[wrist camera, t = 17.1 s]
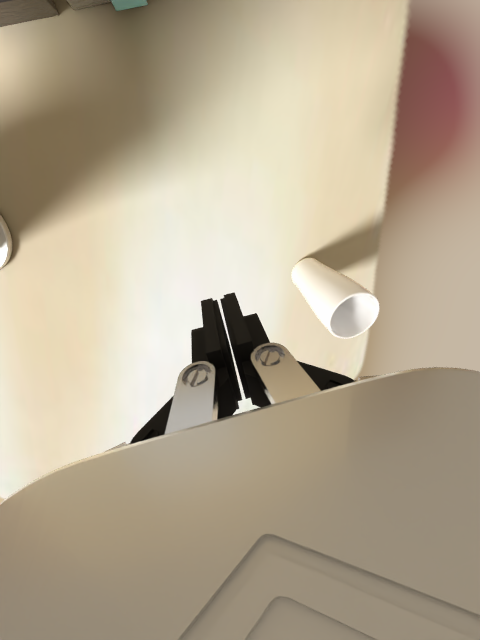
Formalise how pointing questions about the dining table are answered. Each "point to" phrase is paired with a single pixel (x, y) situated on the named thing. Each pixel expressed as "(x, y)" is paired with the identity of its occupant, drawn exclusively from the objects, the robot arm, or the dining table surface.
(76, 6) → the bar
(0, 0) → the tongs frame
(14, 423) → the dining table surface
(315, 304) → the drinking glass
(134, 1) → the teal rectangular block
